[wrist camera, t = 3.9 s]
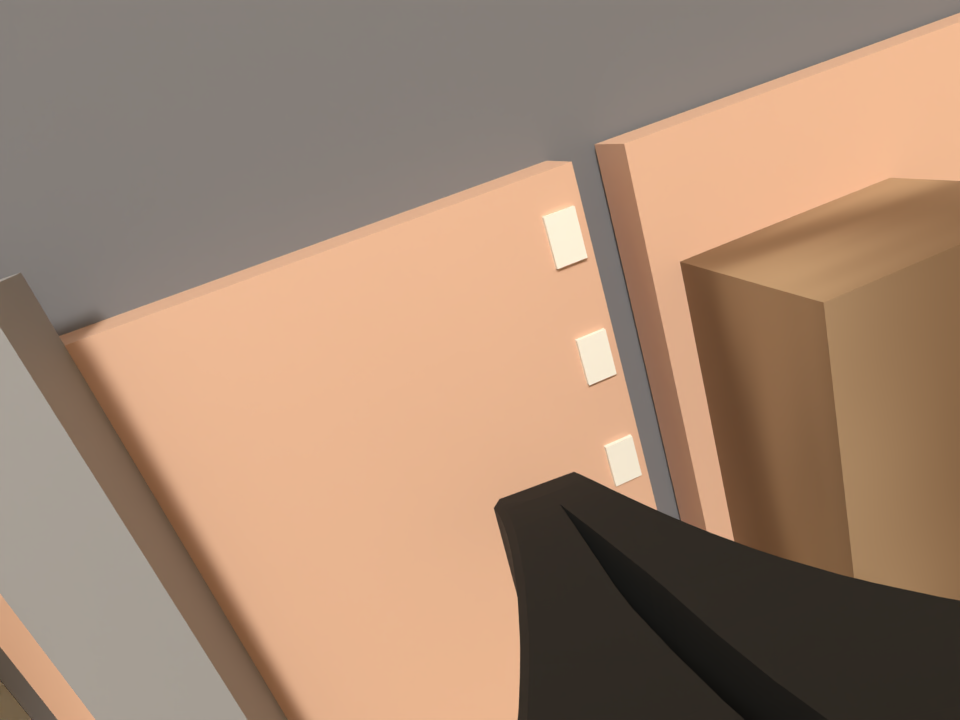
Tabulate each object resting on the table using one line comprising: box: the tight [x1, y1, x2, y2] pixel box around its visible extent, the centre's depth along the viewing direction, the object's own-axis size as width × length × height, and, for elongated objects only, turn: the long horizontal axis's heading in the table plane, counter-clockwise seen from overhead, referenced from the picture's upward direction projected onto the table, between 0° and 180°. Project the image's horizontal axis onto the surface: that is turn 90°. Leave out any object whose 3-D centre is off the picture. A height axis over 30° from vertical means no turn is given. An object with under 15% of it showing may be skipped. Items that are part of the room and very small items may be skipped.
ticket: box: [0, 161, 657, 720], centre depth 10 cm, size 10×12×2 cm
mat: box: [0, 0, 960, 720], centre depth 13 cm, size 30×18×1 cm, turn 108°
